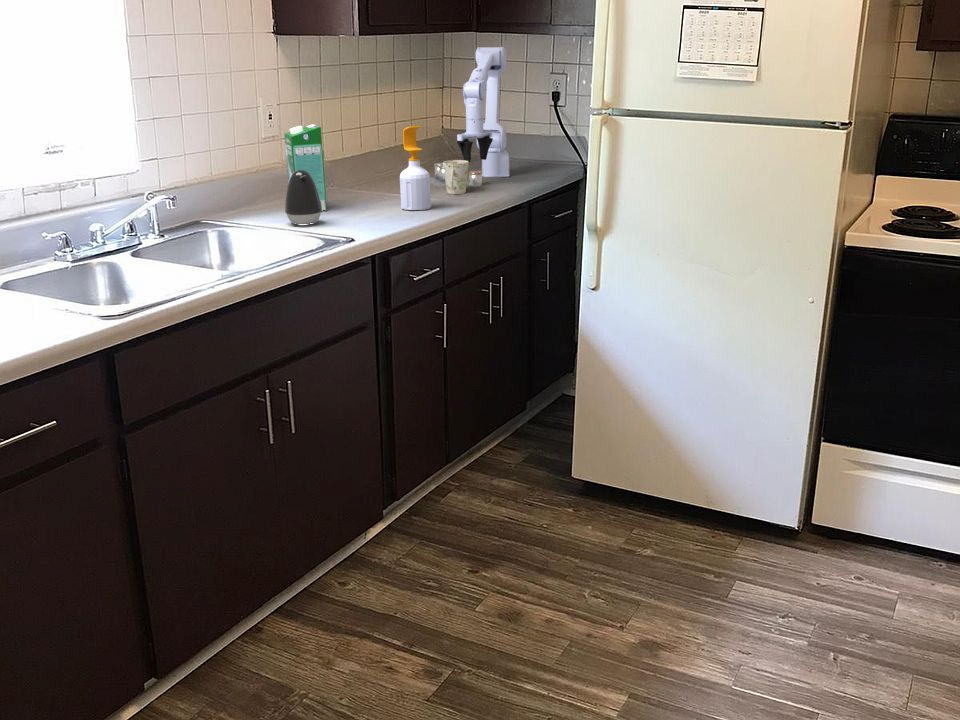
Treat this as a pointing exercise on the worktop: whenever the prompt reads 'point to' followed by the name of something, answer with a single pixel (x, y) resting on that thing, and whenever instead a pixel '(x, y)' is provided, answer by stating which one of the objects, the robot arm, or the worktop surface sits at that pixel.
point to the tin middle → (441, 174)
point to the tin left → (437, 170)
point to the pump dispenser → (302, 199)
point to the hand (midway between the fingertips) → (475, 160)
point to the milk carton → (307, 155)
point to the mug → (456, 176)
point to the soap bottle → (414, 176)
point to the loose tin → (475, 178)
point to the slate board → (438, 182)
